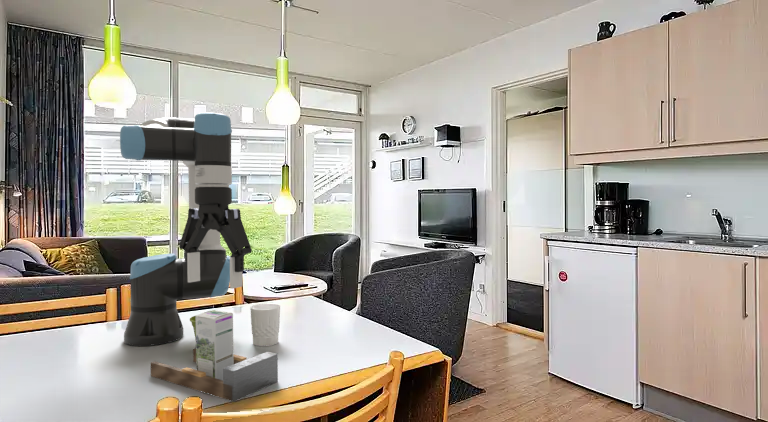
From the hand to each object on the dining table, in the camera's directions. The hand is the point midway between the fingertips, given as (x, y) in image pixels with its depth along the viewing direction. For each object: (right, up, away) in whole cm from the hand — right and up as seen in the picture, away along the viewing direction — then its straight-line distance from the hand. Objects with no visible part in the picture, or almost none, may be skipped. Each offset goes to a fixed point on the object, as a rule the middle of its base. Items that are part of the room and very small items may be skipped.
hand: (214, 284), depth 104 cm
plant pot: (-9, -20, +21) cm, 30 cm away
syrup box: (0, -21, 0) cm, 21 cm away
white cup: (+5, -20, +27) cm, 34 cm away
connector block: (+10, -21, -5) cm, 23 cm away
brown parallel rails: (-1, -21, +1) cm, 21 cm away
